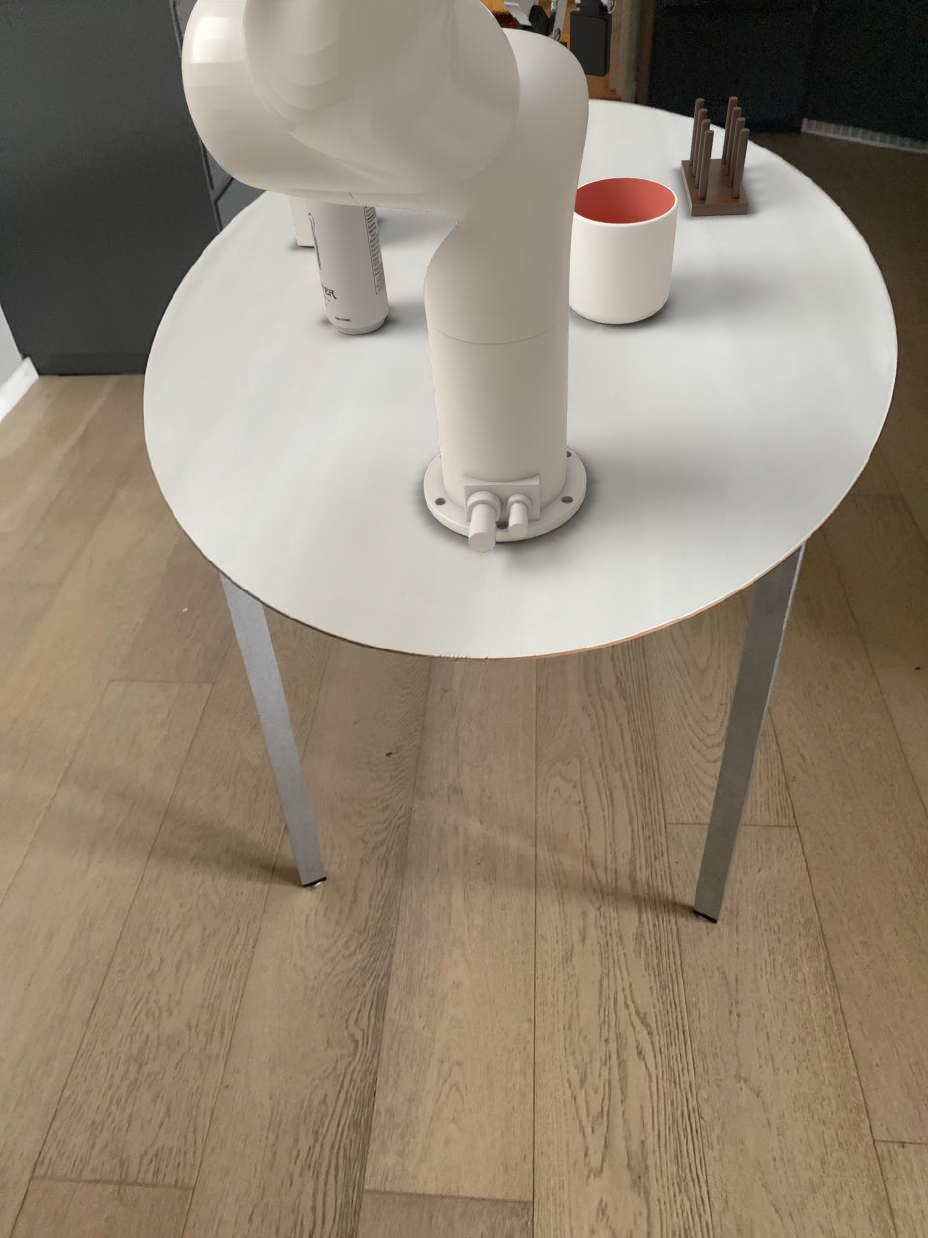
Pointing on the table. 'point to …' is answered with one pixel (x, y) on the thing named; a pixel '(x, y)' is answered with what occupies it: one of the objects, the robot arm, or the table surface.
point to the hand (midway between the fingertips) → (567, 84)
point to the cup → (622, 249)
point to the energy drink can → (349, 265)
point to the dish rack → (716, 165)
